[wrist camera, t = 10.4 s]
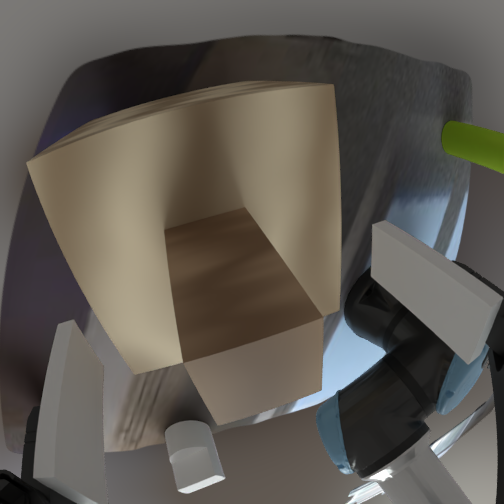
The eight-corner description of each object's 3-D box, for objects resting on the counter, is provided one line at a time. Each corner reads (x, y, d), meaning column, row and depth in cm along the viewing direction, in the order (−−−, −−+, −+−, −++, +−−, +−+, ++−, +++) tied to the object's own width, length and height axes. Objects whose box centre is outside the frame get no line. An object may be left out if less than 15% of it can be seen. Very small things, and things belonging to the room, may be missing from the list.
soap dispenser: (456, 110, 40) (559, 138, 23) (462, 147, 43) (557, 184, 26) (437, 120, 39) (547, 151, 22) (443, 159, 43) (545, 200, 26)
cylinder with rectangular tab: (190, 414, 50) (206, 470, 40) (219, 430, 55) (236, 480, 45) (155, 433, 50) (164, 487, 40) (184, 447, 55) (197, 496, 45)
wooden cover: (245, 80, 26) (472, 110, 6) (266, 217, 34) (403, 397, 14) (89, 121, 23) (-74, 254, 4) (134, 255, 31) (146, 486, 12)
